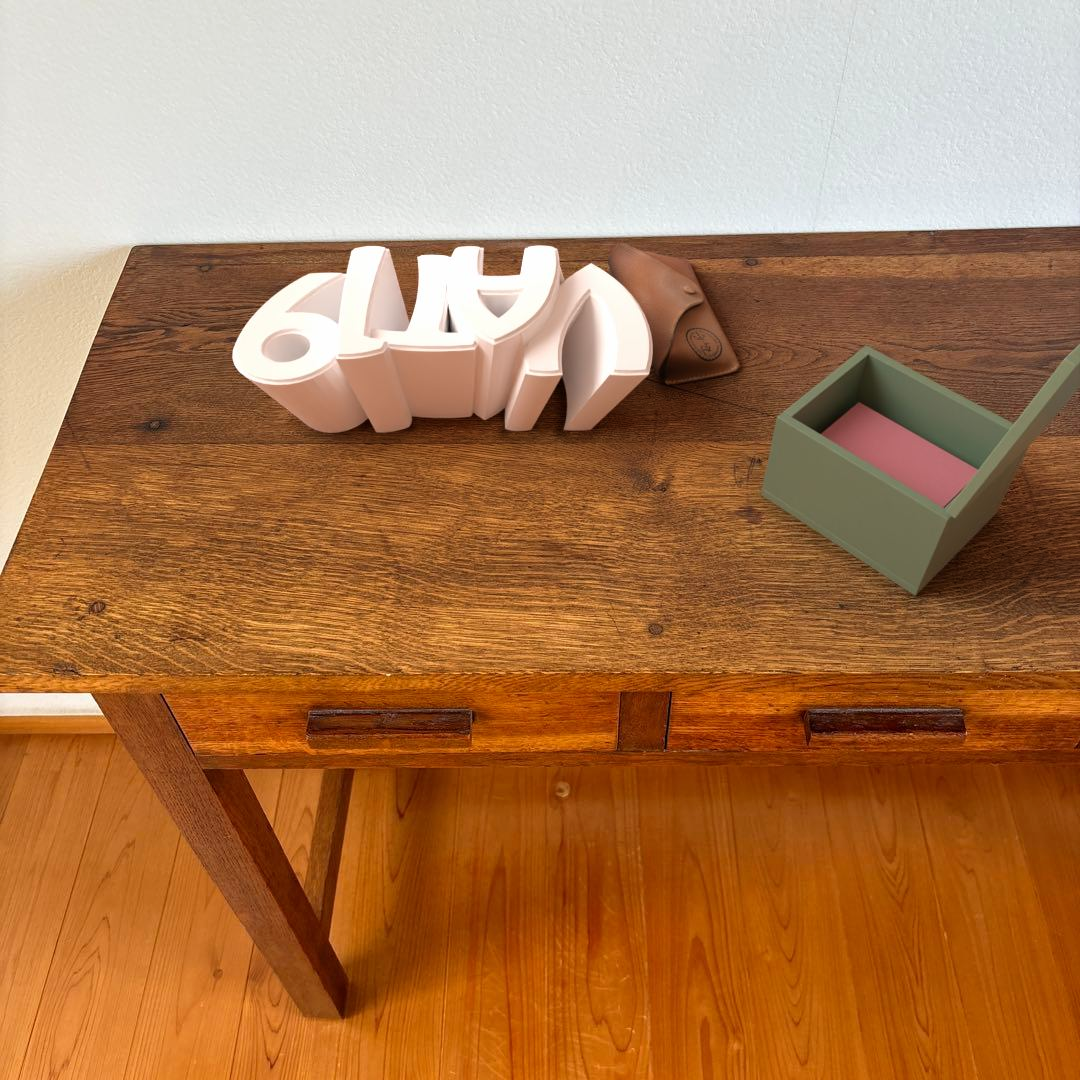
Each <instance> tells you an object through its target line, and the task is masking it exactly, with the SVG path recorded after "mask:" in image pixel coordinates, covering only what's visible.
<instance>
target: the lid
mask: <svg viewBox="0 0 1080 1080" xmlns="http://www.w3.org/2000/svg"><path fill="white" fill-rule="evenodd" d="M1079 389H1080V343H1079V344H1078V345H1077V346H1076V347H1075V348H1074V349H1073V350H1072V351H1071V352H1070V353H1068V355H1067V356H1066V357H1065V358H1063V360H1062V361H1061V362H1060V363H1059V365H1058V366H1057V367H1056V368H1055V370H1054V371H1053V372H1052V374H1051V375H1050V377H1049V378H1048V379H1047V381H1046V382H1045V383H1044V384H1043V386H1042V387H1041V388H1040V390H1039V391H1038V392H1037V393H1036V394H1035V396H1034V397H1033V399H1032V400H1031V401H1030V402H1029V404H1028V405H1027V406H1026V407H1025V409H1024V410H1023V412H1022V413H1021V414H1020V416H1019V417H1018V418H1017V419H1016V421H1015V422H1014V423H1013V426H1012V427H1011V428H1010V430H1009V431H1008V432H1007V433H1006V435H1005V436H1004V437H1003V439H1002V440H1001V441H1000V442H999V444H998V445H997V446H996V448H995V449H994V450H993V451H992V453H991V454H990V455H989V457H988V458H987V459H986V460H985V462H984V463H983V464H982V466H981V467H980V468H979V470H978V471H977V472H976V473H975V475H974V476H973V477H972V479H971V480H970V481H969V482H968V484H967V485H966V486H965V488H964V489H963V490H962V491H961V493H960V494H959V495H958V497H957V498H956V499H955V500H954V502H953V503H952V504H951V506H950V507H949V508H948V509H947V511H946V512H947V513H948V514H949V515H951V516H952V517H953V518H957V517H958V516H959V515H960V514H961V513H962V512H963V511H964V510H965V509H966V508H967V507H968V506H969V505H970V504H971V503H972V502H973V501H974V500H975V499H976V498H977V497H978V496H979V495H980V494H981V493H982V492H983V491H984V490H985V489H986V488H987V487H988V486H989V485H990V484H991V483H992V482H993V481H994V480H995V479H996V478H997V477H998V476H999V475H1000V474H1001V473H1002V472H1003V471H1004V470H1005V469H1006V468H1007V467H1008V466H1009V465H1010V464H1011V463H1012V462H1013V461H1014V460H1015V459H1016V458H1017V457H1018V456H1019V455H1020V454H1021V453H1022V452H1023V451H1024V450H1025V449H1026V448H1027V447H1028V446H1029V447H1030V446H1031V445H1032V444H1033V443H1034V442H1035V441H1036V440H1037V439H1038V438H1039V437H1040V436H1041V435H1042V434H1043V432H1045V430H1046V429H1047V428H1048V427H1049V426H1050V424H1051V423H1052V422H1053V421H1054V419H1056V417H1057V415H1058V414H1059V413H1060V412H1061V411H1062V410H1063V408H1064V407H1065V406H1066V404H1067V403H1068V402H1069V401H1070V400H1071V399H1072V397H1073V396H1074V395H1075V393H1076V392H1078V390H1079ZM1029 447H1028V448H1029Z"/></svg>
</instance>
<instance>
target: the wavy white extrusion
mask: <svg viewBox="0 0 1080 1080" xmlns="http://www.w3.org/2000/svg"><path fill="white" fill-rule="evenodd" d="M523 251H524V252H523V257H522V261H521V268H520V272H519V273H520V274H513V275H483V274H484V253H485V248H484V247H480V246H475V245H474V246H473V245H471V246H470V245H469V246H468V245H467V246H457V247H456V248H454V249H453V252H452V254H451V255H450V256H448V255H444V254H443V255H442V254H422V255H421V254H420V256H419V255H418V256H417V265H418V287H417V295H416V301H415V305H414V309H413V313H412V316H411V319H410V320H409V315H408V312H407V309H406V305H405V301H404V298H403V294H402V291H401V288H400V284H399V283H400V282H399V280H398V275H397V273H396V269H395V266H394V262H393V258H392V254H391V251H390V248H386V247H384V246H379V245H366V246H360V247H355V248H353V249H352V250H351V252H350V256H349V260H348V264H347V269H346V273H342V272H311V273H307V274H306V275H303V276H302V277H300V278H298V279H296V280H295V281H292V282H291V283H289V284H288V285H287V286H285V287H284V288H282V289H280V290H278V292H277V293H275V294H274V295H273V296H272V297H270V298H269V299H268V300H267V301H265V302H264V303H263V304H262V305H261V306H260V307H259V308H258V309H257V310H256V311H255V313H254V314H253V315H252V316H251V317H250V318H249V320H248V321H247V323H246V324H245V325H244V327H243V329H242V330H241V332H240V334H239V335H238V336H237V339H236V341H235V343H234V346H233V349H232V361H233V365H234V366H235V368H236V370H237V371H238V372H239V373H240V374H241V375H243V376H244V377H245V378H246V379H247V380H248V381H250V382H251V383H253V384H254V385H255V386H256V387H258V388H259V389H260V390H261V391H263V392H264V393H266V394H267V395H268V396H269V397H270V398H272V399H273V400H274V401H276V402H277V403H278V404H280V405H281V406H282V407H283V408H285V409H286V410H287V411H288V412H290V413H291V414H292V415H293V416H295V418H297V419H299V420H300V421H301V422H303V424H305V425H306V426H307V427H309V428H311V429H312V430H314V431H318V432H321V433H328V434H332V433H333V434H335V433H342V432H346V431H349V430H352V429H355V428H357V427H358V426H360V425H361V424H363V423H364V422H366V421H367V420H369V422H370V424H371V426H372V428H373V429H374V431H375V433H393V432H397V431H401V430H404V429H405V430H406V429H407V428H409V427H410V426H411V425H412V422H413V417H416V418H428V419H429V418H430V419H456V418H457V419H458V418H470V417H472V416H473V414H475V415H476V416H477V417H479V418H480V419H482V420H484V421H487V420H489V419H490V418H493V417H494V416H496V415H497V414H499V413H501V412H502V411H503V410H504V429H505V430H507V431H512V432H527V431H531V430H532V429H533V427H534V426H535V424H536V423H537V421H538V418H539V417H540V416H541V413H542V411H543V410H544V408H545V407H546V404H547V403H548V401H549V400H550V398H551V396H552V394H553V393H554V391H555V389H556V387H557V385H558V384H559V382H560V381H561V379H562V381H563V384H564V388H565V394H566V418H565V423H564V427H563V431H573V432H575V431H590V430H593V428H594V427H595V426H596V425H597V424H598V423H600V421H602V420H603V419H604V418H605V417H606V416H607V415H608V414H609V413H610V412H611V411H612V410H613V409H614V408H615V407H616V406H618V405H619V404H620V403H621V402H622V401H623V400H624V399H625V398H626V397H627V396H628V395H629V394H630V393H631V392H632V391H633V390H635V388H636V387H637V386H639V384H641V382H642V381H644V380H645V379H646V378H647V377H648V376H649V375H650V372H651V366H652V364H651V363H652V354H653V346H652V336H651V332H650V328H649V324H648V322H647V319H646V317H645V314H644V313H643V311H642V309H641V307H640V306H639V304H638V303H637V301H636V300H635V299H634V297H633V296H632V295H631V294H630V293H629V292H628V290H627V289H626V288H625V287H624V286H623V285H622V284H620V283H619V282H618V281H617V280H616V279H615V278H613V275H611V274H609V273H608V272H606V271H605V270H604V269H602V268H600V267H598V266H596V265H595V264H593V263H592V262H591V263H589V264H587V265H586V266H584V267H582V268H581V269H578V270H577V271H576V272H574V273H573V274H571V275H570V276H569V277H568V278H567V277H566V279H565V277H564V274H563V271H562V270H563V269H562V268H561V264H560V255H559V250H558V248H556V247H554V246H552V245H551V246H550V245H530V246H528V247H525V248H524V250H523Z"/></svg>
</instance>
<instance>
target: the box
mask: <svg viewBox="0 0 1080 1080" xmlns="http://www.w3.org/2000/svg"><path fill="white" fill-rule="evenodd" d="M859 402H860V403H862V404H863V405H865V406H867V407H869V408H870V409H872V410H874V411H876V412H877V413H879V414H881V415H883V416H884V417H886V418H888V419H890V420H891V421H893V422H895V423H897V424H898V425H900V426H902V427H904V428H906V429H907V430H909V431H911V432H913V433H914V434H916V435H918V436H920V437H921V438H923V439H925V440H927V441H928V442H930V443H932V444H934V445H935V446H937V447H939V448H941V449H942V450H944V451H946V452H948V453H949V454H951V455H953V456H955V457H957V458H958V459H960V460H962V461H964V462H965V463H967V464H969V465H971V466H972V467H974V468H976V469H978V470H979V468H980V467H981V466H982V464H983V463H984V462H985V460H986V459H987V458H988V457H989V455H990V454H991V453H992V451H993V450H994V449H995V448H996V446H997V445H998V444H999V442H1000V441H1001V440H1002V439H1003V437H1004V436H1005V435H1006V433H1007V432H1008V431H1009V430H1010V428H1011V427H1012V426H1013V424H1014V423H1013V422H1012V421H1009V420H1008V419H1006V418H1004V417H1002V416H1000V415H998V414H996V413H994V412H993V411H990V410H989V409H987V408H985V407H983V406H981V405H979V404H977V403H976V402H974V401H972V400H970V399H969V398H966V397H964V396H963V395H961V394H960V393H957V392H955V391H953V390H952V389H950V388H948V387H946V386H944V385H942V384H940V383H939V382H936V381H934V380H933V379H931V378H929V377H927V376H925V375H923V374H922V373H919V372H917V371H916V370H914V369H913V368H910V367H908V366H906V365H905V364H903V363H900V362H899V361H897V360H895V359H893V358H892V357H890V356H887V355H886V354H884V353H882V352H880V351H879V350H877V349H874V348H873V347H871V346H869V345H867V344H866V345H864V346H863V347H862V348H861V349H859V350H858V351H857V352H856V353H855V354H854V355H852V356H851V357H850V358H848V359H847V360H846V361H844V362H843V363H842V364H841V365H839V366H838V367H837V368H836V369H835V370H834V371H832V372H831V373H830V374H828V375H827V376H826V377H825V378H824V379H822V380H821V381H820V382H818V383H817V384H816V385H814V387H811V389H810V390H808V391H807V392H806V393H805V394H804V395H802V396H801V397H800V398H798V399H797V400H796V401H795V402H794V403H792V404H791V405H790V406H789V407H787V408H786V409H785V410H783V412H781V413H780V414H779V415H777V416H776V420H775V425H774V429H773V435H772V439H771V444H770V449H769V453H768V460H767V464H766V468H765V473H764V477H763V483H762V486H761V492H760V496H762V497H763V498H765V499H766V500H768V501H769V502H770V503H772V504H774V505H775V506H776V507H778V508H780V509H782V510H783V511H784V512H786V513H788V514H789V515H791V516H792V517H794V518H795V519H796V520H798V521H800V522H801V523H803V524H805V526H807V527H809V528H810V529H812V530H813V531H814V532H817V533H818V534H819V535H821V536H823V537H824V538H826V539H827V540H829V541H831V542H832V543H834V544H835V545H836V546H837V547H840V548H841V549H842V550H843V551H845V552H847V553H849V554H850V555H851V556H853V557H855V558H857V559H858V560H859V561H861V562H863V563H864V564H865V565H867V566H868V567H870V568H872V569H873V570H874V571H876V572H877V573H880V574H881V575H882V576H884V577H885V578H887V579H888V580H890V581H891V582H893V583H895V584H896V585H898V587H901V588H902V589H903V590H905V591H907V592H909V593H910V594H911V595H913V596H917V595H918V594H919V593H920V592H921V591H922V590H923V589H924V588H925V587H926V586H927V585H928V584H929V583H930V582H931V581H932V580H933V579H934V578H935V577H936V575H938V573H939V572H940V571H942V570H943V569H944V568H945V566H946V565H947V564H948V563H950V561H951V560H952V559H954V557H955V556H957V554H958V553H959V552H960V551H961V550H962V549H964V547H965V546H966V545H968V543H969V542H970V541H971V540H972V539H973V538H974V537H975V536H976V535H977V534H978V533H979V532H980V531H981V529H983V528H984V526H986V525H987V524H988V523H989V521H991V519H993V517H994V516H996V515H997V513H998V511H999V509H1000V507H1001V505H1002V503H1003V501H1004V500H1005V499H1004V498H1005V496H1006V494H1007V493H1008V491H1009V488H1010V486H1011V485H1012V482H1013V480H1014V479H1015V476H1016V474H1017V472H1018V470H1019V467H1020V466H1021V464H1022V461H1023V460H1024V457H1025V455H1026V453H1027V451H1028V449H1029V447H1030V445H1029V446H1028V447H1027V448H1026V449H1025V450H1024V451H1023V452H1022V453H1021V454H1020V455H1019V456H1018V457H1017V458H1016V459H1015V460H1014V461H1013V462H1012V463H1011V464H1010V465H1009V466H1008V467H1007V468H1006V469H1005V470H1004V471H1003V472H1002V473H1001V474H1000V475H999V476H998V477H997V478H996V479H995V480H994V481H993V482H992V483H991V484H990V485H989V486H988V487H987V488H986V489H985V490H984V491H983V492H982V493H981V494H980V495H979V496H978V497H977V498H976V499H975V500H974V501H973V502H972V503H971V504H970V505H969V506H968V507H967V508H966V509H965V510H964V511H963V512H962V513H961V514H960V515H959V516H958V517H957V518H953V517H952V516H951V515H949V514H948V513H947V512H946V511H947V509H948V508H949V507H950V506H951V504H952V503H953V502H954V500H955V499H956V498H957V497H958V495H959V494H960V493H961V492H960V493H959V494H958V495H957V496H956V497H955V498H954V499H953V500H952V501H951V502H950V503H949V504H948V505H947V506H946V507H945V508H943V507H941V506H940V505H938V504H936V503H935V502H933V501H931V500H930V499H928V498H926V497H925V496H923V495H921V494H920V493H918V492H916V491H915V490H913V489H911V488H910V487H908V486H906V485H905V484H903V483H901V482H900V481H898V480H896V479H895V478H893V477H891V476H890V475H888V474H886V473H885V472H883V471H881V470H879V469H878V468H876V467H874V466H873V465H871V464H869V463H868V462H866V461H864V460H863V459H861V458H859V457H858V456H856V455H854V454H853V453H851V452H849V451H848V450H846V449H844V448H843V447H841V446H839V445H838V444H836V443H834V442H833V441H831V440H829V439H828V438H826V437H824V436H823V435H821V433H823V432H824V431H825V430H826V429H827V428H829V427H830V426H831V425H832V424H833V423H835V422H836V421H837V420H838V419H839V418H841V417H842V416H843V415H844V414H845V413H847V412H848V411H849V410H850V409H851V408H853V407H854V406H855V405H856V404H857V403H859Z"/></svg>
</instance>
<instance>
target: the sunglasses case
mask: <svg viewBox="0 0 1080 1080" xmlns="http://www.w3.org/2000/svg"><path fill="white" fill-rule="evenodd" d="M607 265H608V268H609V271H610V274H611V276H612V277H613V278H615V279H616V280H617V281H618V282H619V283H620V284H622V285H623V286H624V287H625V288H626V289H627V290H628V292H629V293H630V294H631V295H632V296H633V297H634V299H635V300H636V301H637V303H638V304H639V306H640V307H641V309H642V311H643V313H644V314H645V317H646V319H647V322H648V324H649V328H650V332H651V336H652V346H653V354H652V363H651V366H652V368H653V370H654V373H655V374H656V376H657V378H659V380H661V381H662V383H664V385H667V386H674V385H680V384H691V383H695V382H701V381H705V380H706V381H707V380H711V379H715V378H718V377H721V376H726V375H730V374H733V373H735V372H737V371H738V370H739V369H740V367H741V366H740V362H739V359H738V357H737V355H736V353H735V351H734V348H733V347H732V345H731V343H730V341H729V339H728V338H727V336H726V333H725V331H724V330H723V328H722V325H721V324H720V321H718V319H717V317H716V314H715V313H714V311H713V309H712V307H711V305H710V304H709V301H708V299H707V297H706V295H705V293H704V290H703V289H702V287H701V285H700V283H699V280H698V278H697V276H696V274H695V271H694V270H693V266H692V264H691V262H690V260H689V259H688V258H685V257H683V258H678V257H674V256H670V255H666V254H660V253H655V252H652V251H646V250H640V249H638V248H636V247H634V246H631V245H629V244H628V243H625V242H624V243H623V242H622V243H618V244H617V245H616V246H614V247H613V248H612V249H611V251H610V253H609V255H608V258H607Z"/></svg>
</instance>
